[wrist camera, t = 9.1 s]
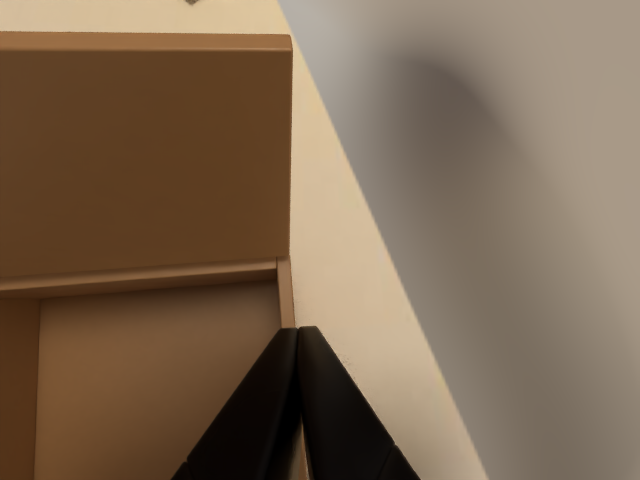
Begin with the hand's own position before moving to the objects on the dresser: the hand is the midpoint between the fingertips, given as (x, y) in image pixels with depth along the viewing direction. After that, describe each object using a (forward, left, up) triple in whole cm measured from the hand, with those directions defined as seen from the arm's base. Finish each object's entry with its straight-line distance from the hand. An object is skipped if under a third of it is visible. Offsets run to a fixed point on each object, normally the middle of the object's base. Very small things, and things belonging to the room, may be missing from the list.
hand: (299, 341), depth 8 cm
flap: (+3, +6, 0) cm, 7 cm away
